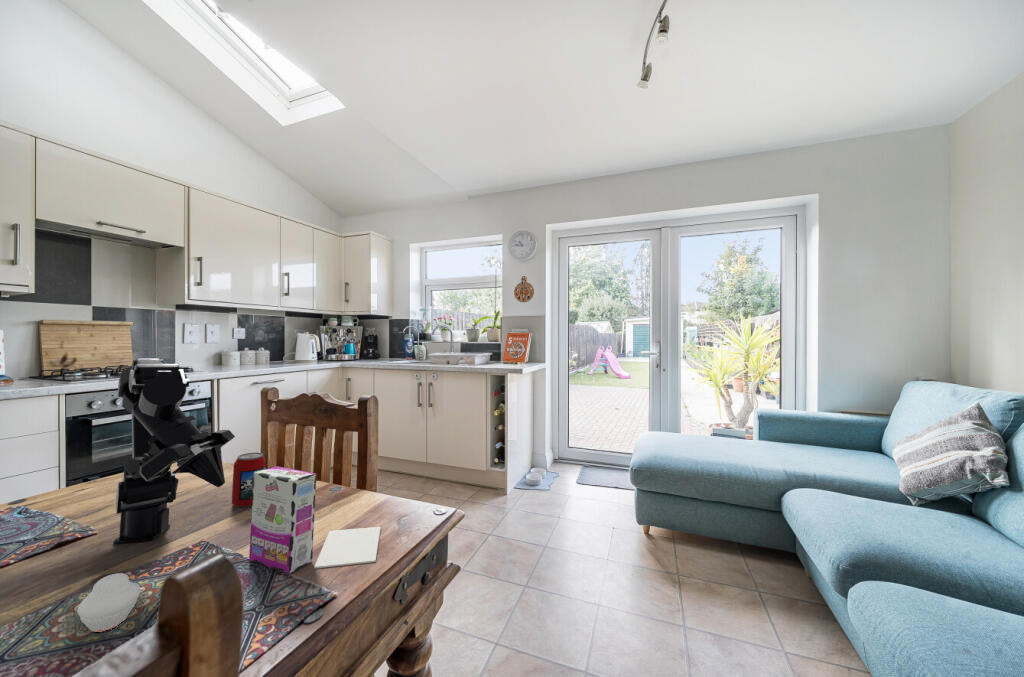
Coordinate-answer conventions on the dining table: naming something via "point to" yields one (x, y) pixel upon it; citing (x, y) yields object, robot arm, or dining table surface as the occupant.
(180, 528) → the dining table surface
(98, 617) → the white lumpy blob
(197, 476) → the robot arm
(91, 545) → the dining table surface
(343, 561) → the mat
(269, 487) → the candy bar box
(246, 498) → the beverage can
